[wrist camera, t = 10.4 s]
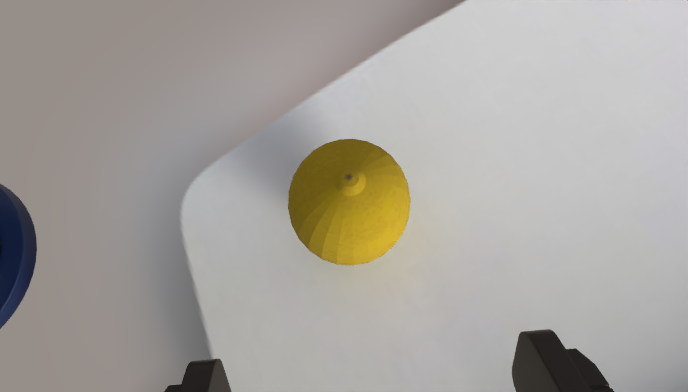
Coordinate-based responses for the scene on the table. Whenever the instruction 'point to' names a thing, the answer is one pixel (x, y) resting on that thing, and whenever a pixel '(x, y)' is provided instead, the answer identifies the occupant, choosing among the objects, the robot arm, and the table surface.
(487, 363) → the table surface
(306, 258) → the table surface
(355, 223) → the lemon
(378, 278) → the table surface
